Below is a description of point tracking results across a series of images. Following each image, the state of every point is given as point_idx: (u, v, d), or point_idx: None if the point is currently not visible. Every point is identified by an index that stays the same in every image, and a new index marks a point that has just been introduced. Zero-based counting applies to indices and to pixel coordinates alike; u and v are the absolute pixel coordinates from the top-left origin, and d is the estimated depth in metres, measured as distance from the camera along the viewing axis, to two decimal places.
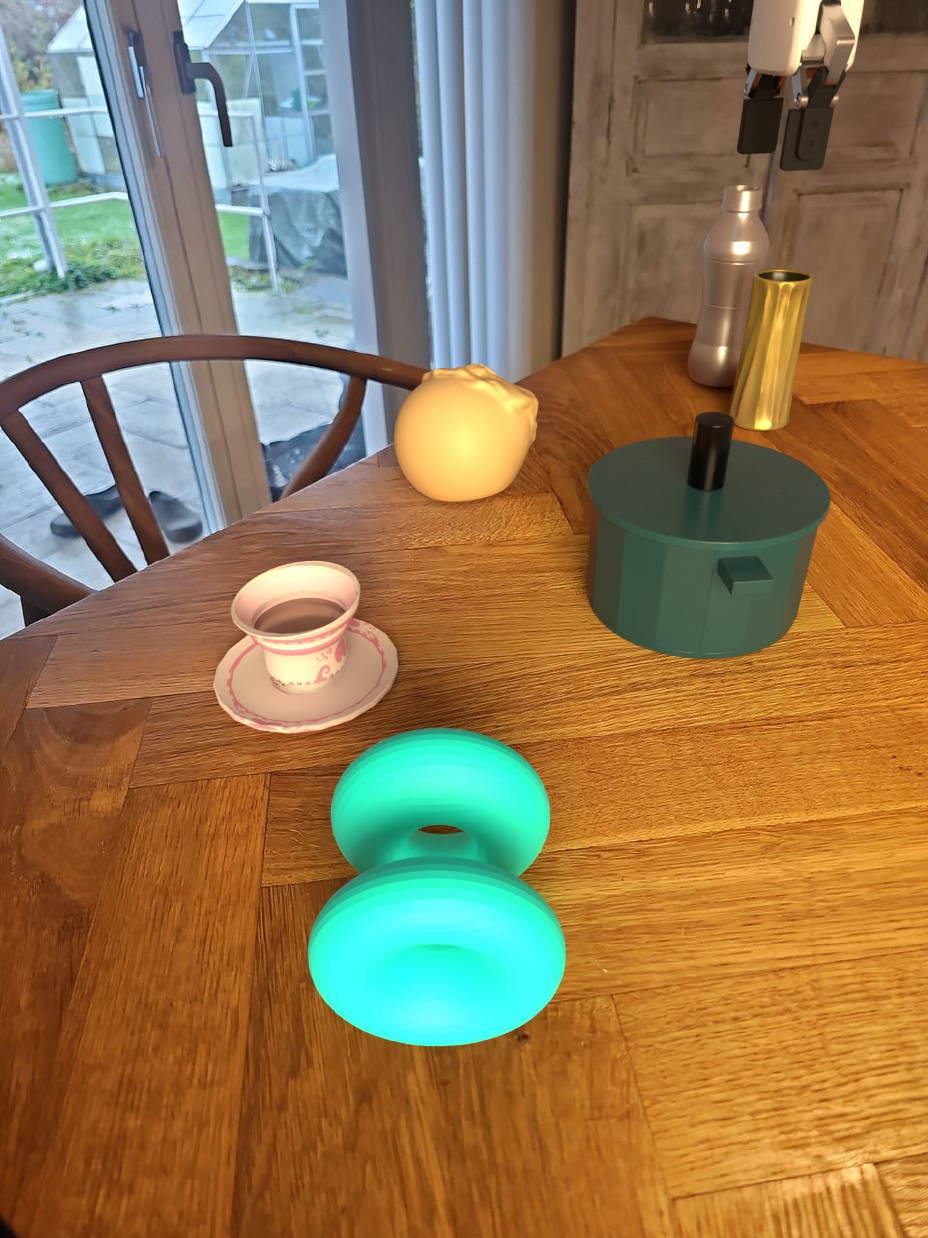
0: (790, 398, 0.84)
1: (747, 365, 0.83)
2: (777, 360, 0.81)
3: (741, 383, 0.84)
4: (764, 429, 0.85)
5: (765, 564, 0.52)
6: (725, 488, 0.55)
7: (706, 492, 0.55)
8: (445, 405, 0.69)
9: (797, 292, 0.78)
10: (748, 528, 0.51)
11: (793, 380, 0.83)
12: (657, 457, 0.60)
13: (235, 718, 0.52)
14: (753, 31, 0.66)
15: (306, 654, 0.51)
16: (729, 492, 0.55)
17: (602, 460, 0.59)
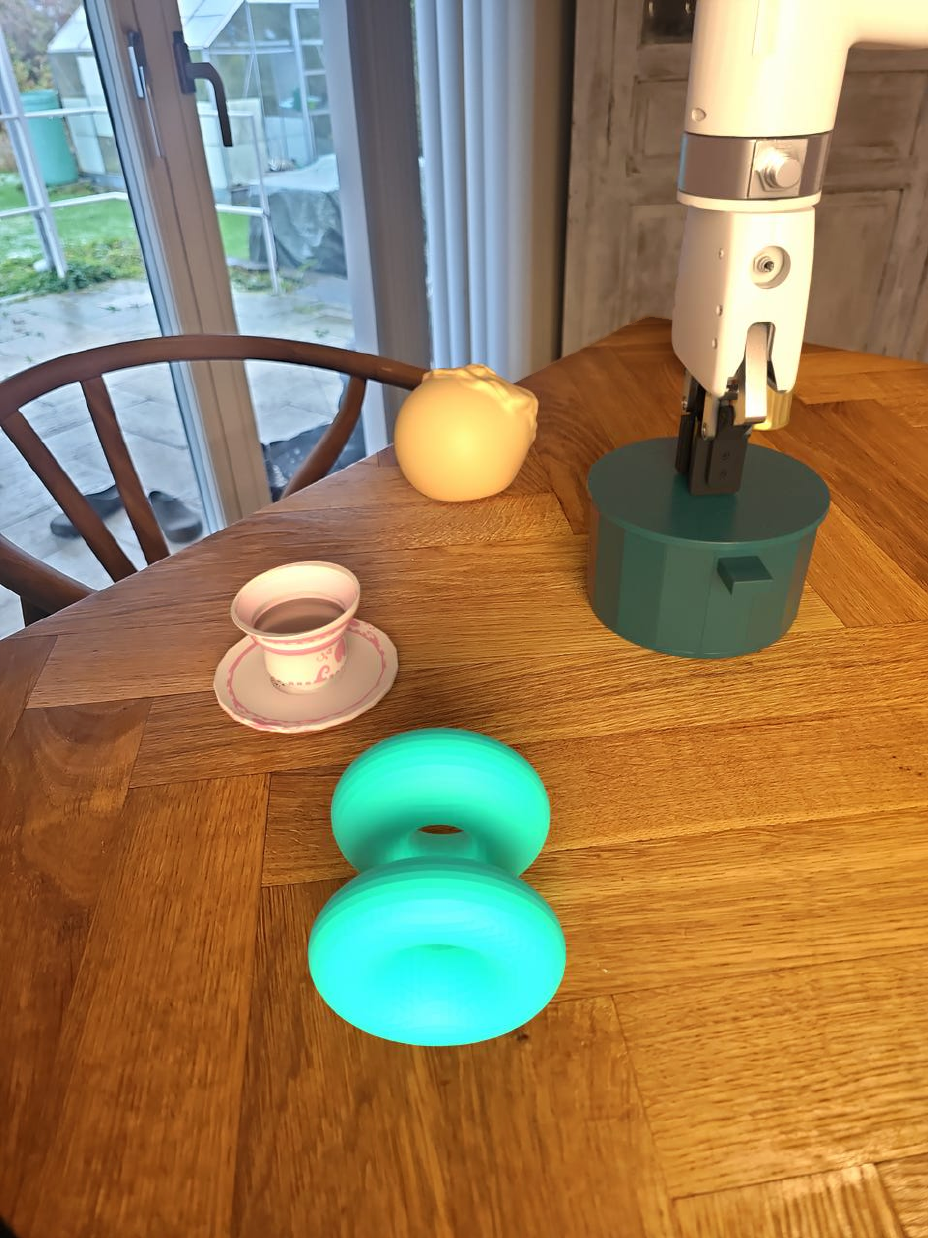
0: (790, 398, 0.84)
1: None
2: None
3: None
4: (764, 429, 0.85)
5: (765, 564, 0.52)
6: None
7: None
8: (445, 405, 0.69)
9: None
10: (748, 528, 0.51)
11: None
12: (657, 457, 0.60)
13: (235, 718, 0.52)
14: (676, 316, 0.53)
15: (306, 654, 0.51)
16: None
17: (602, 460, 0.59)
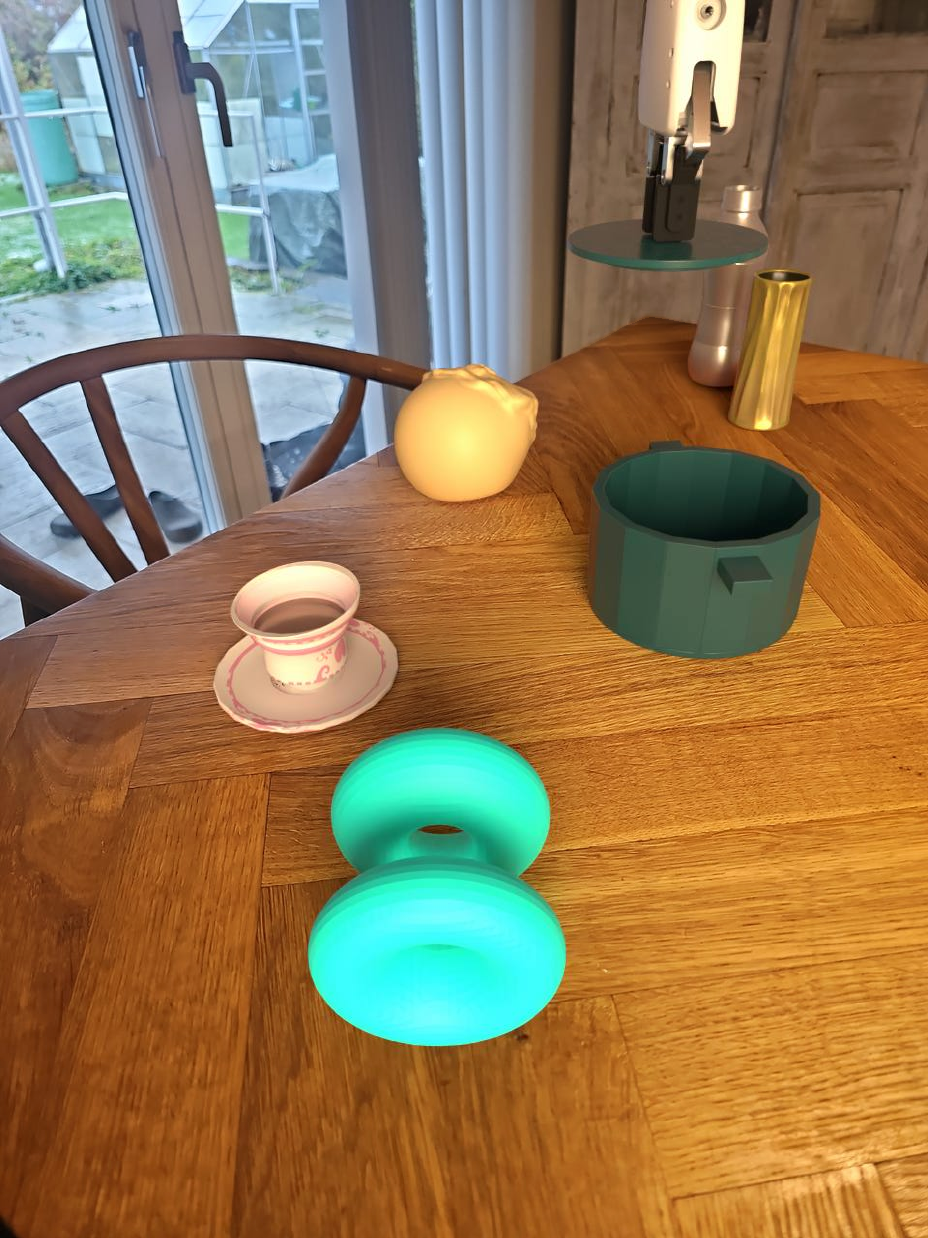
0: (790, 398, 0.84)
1: (747, 365, 0.83)
2: (777, 360, 0.81)
3: (741, 383, 0.84)
4: (764, 429, 0.85)
5: (765, 564, 0.52)
6: None
7: None
8: (445, 405, 0.69)
9: (797, 292, 0.78)
10: (698, 254, 0.62)
11: (793, 380, 0.83)
12: (627, 227, 0.71)
13: (235, 718, 0.52)
14: (640, 88, 0.64)
15: (306, 654, 0.51)
16: None
17: (581, 229, 0.71)
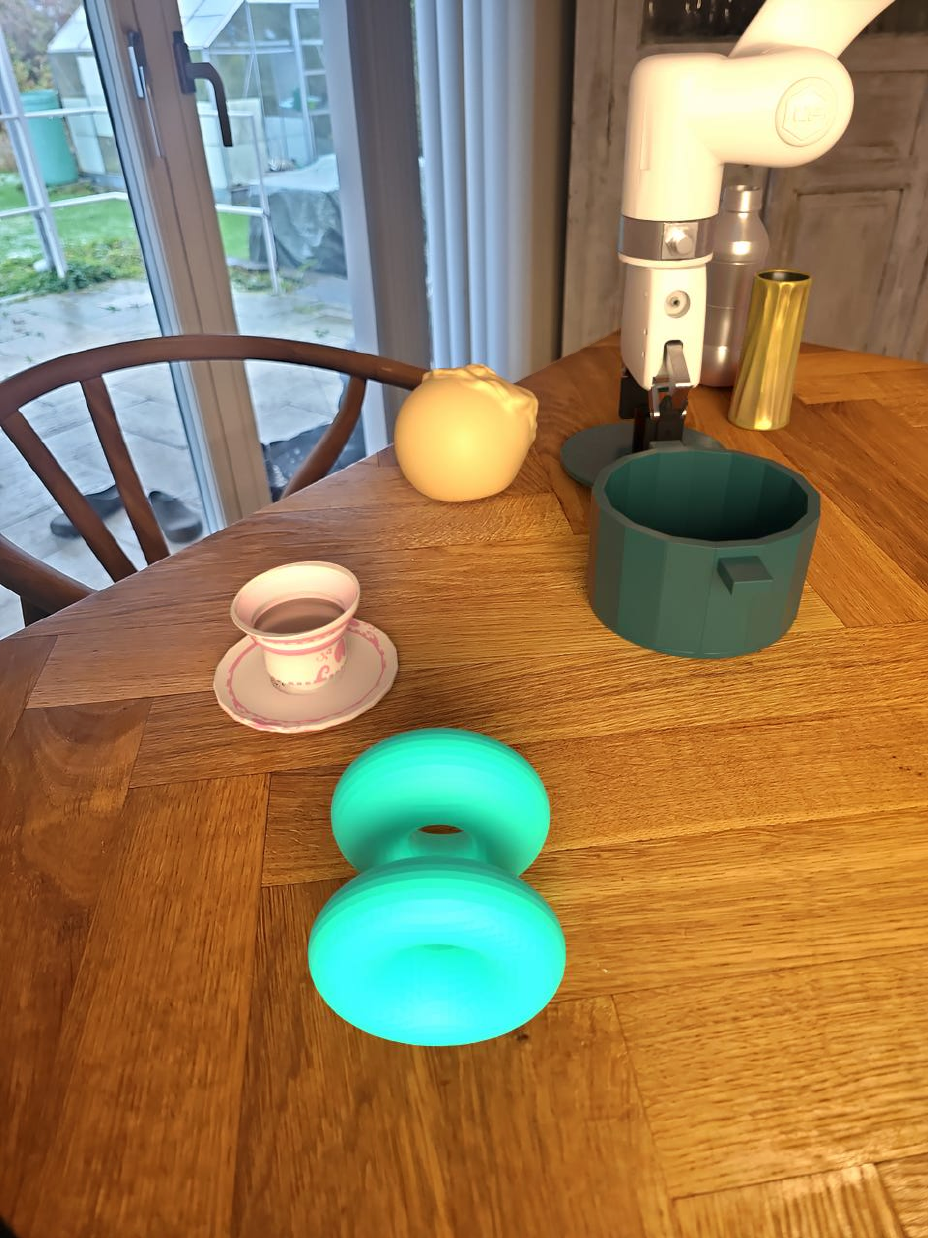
0: (790, 398, 0.84)
1: (747, 365, 0.83)
2: (777, 360, 0.81)
3: (741, 383, 0.84)
4: (764, 429, 0.85)
5: (765, 564, 0.52)
6: None
7: None
8: (445, 405, 0.69)
9: (797, 292, 0.78)
10: None
11: (793, 380, 0.83)
12: (612, 436, 0.82)
13: (235, 718, 0.52)
14: (622, 334, 0.75)
15: (306, 654, 0.51)
16: None
17: (572, 438, 0.82)
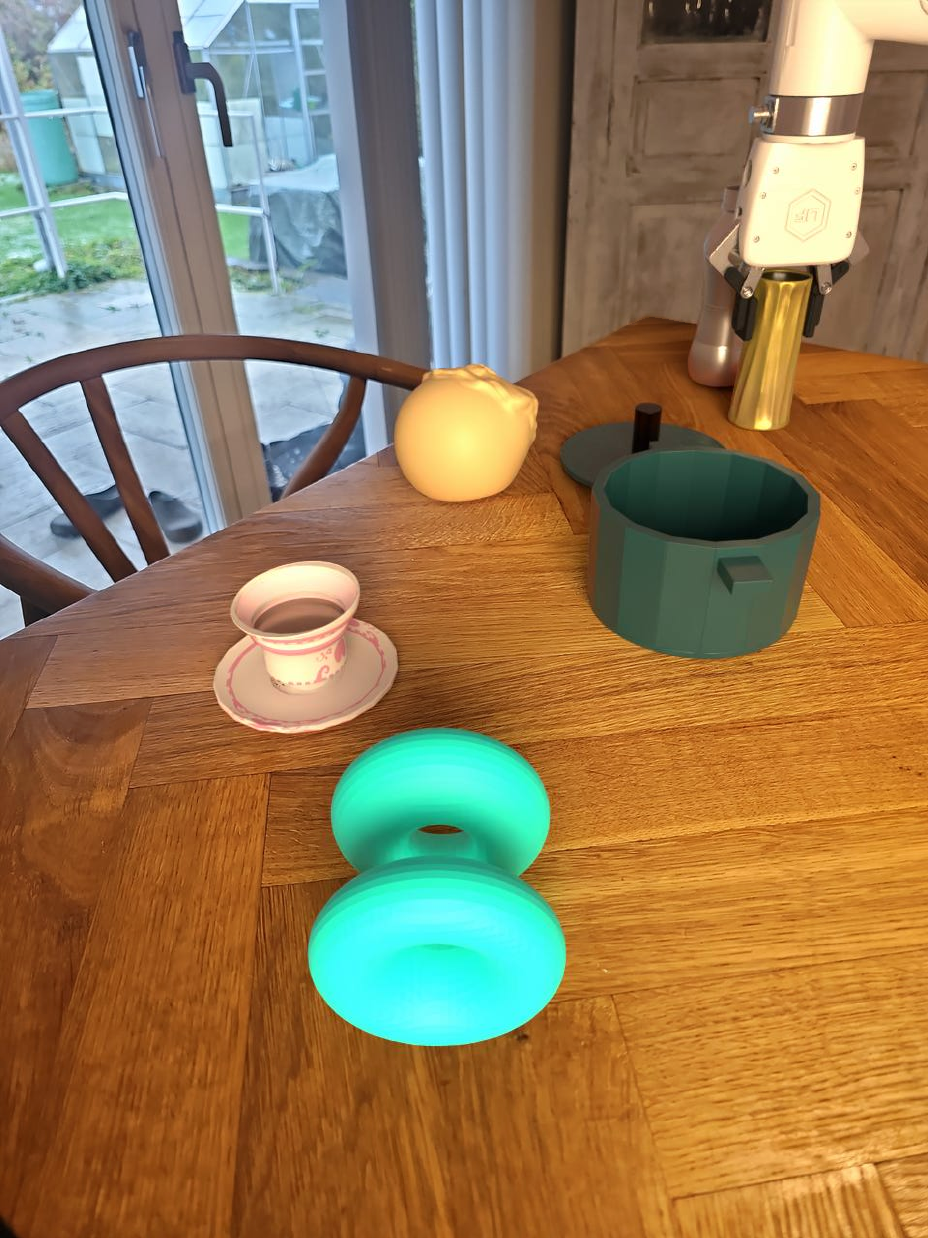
0: (790, 398, 0.84)
1: (747, 365, 0.83)
2: (778, 360, 0.81)
3: (741, 383, 0.84)
4: (764, 429, 0.85)
5: (765, 564, 0.52)
6: None
7: None
8: (445, 405, 0.69)
9: (797, 292, 0.78)
10: None
11: (794, 380, 0.83)
12: (612, 436, 0.82)
13: (235, 718, 0.52)
14: None
15: (306, 654, 0.51)
16: None
17: (572, 438, 0.82)
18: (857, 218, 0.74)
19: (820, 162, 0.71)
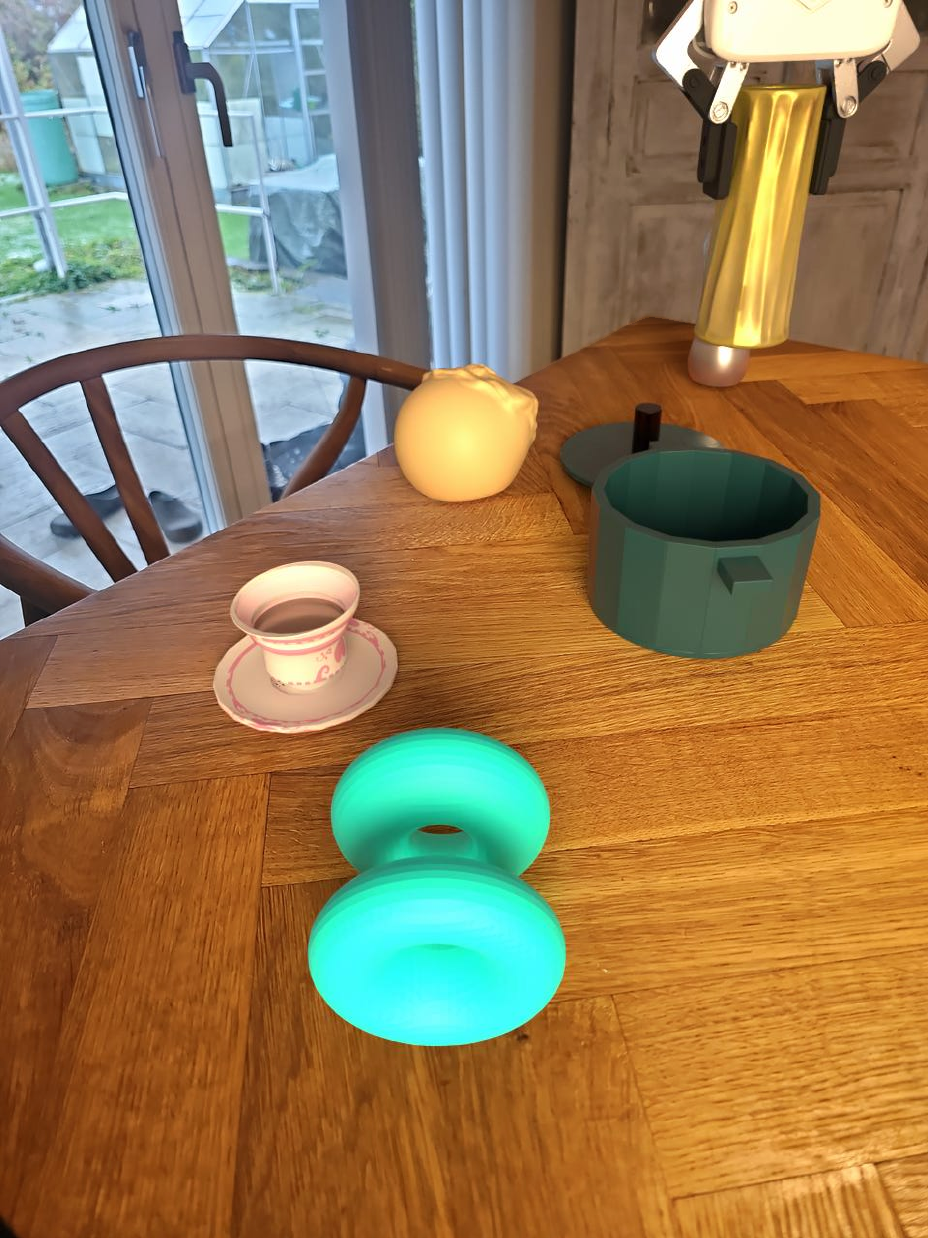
0: (790, 297, 0.54)
1: (722, 242, 0.52)
2: (769, 230, 0.51)
3: (713, 273, 0.54)
4: (749, 346, 0.54)
5: (765, 564, 0.52)
6: None
7: None
8: (445, 405, 0.69)
9: (802, 110, 0.48)
10: None
11: (795, 267, 0.53)
12: (612, 436, 0.82)
13: (235, 718, 0.52)
14: None
15: (306, 654, 0.51)
16: None
17: (572, 438, 0.82)
18: None
19: None
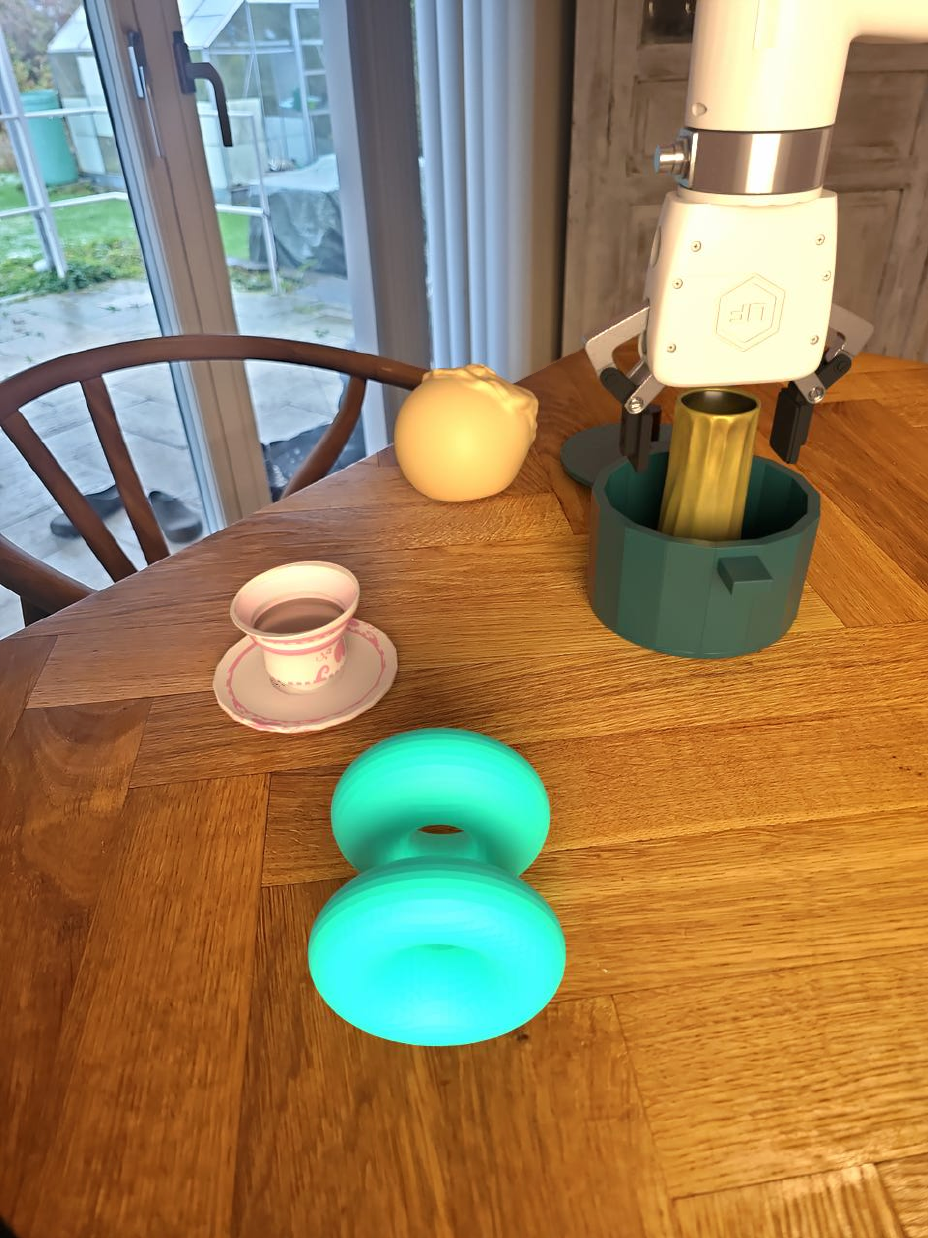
0: None
1: (670, 524, 0.57)
2: (712, 522, 0.55)
3: None
4: None
5: (765, 564, 0.52)
6: None
7: None
8: (445, 405, 0.69)
9: (738, 429, 0.52)
10: None
11: None
12: (612, 436, 0.82)
13: (235, 718, 0.52)
14: None
15: (305, 654, 0.51)
16: None
17: (572, 438, 0.82)
18: (827, 316, 0.48)
19: (766, 234, 0.45)
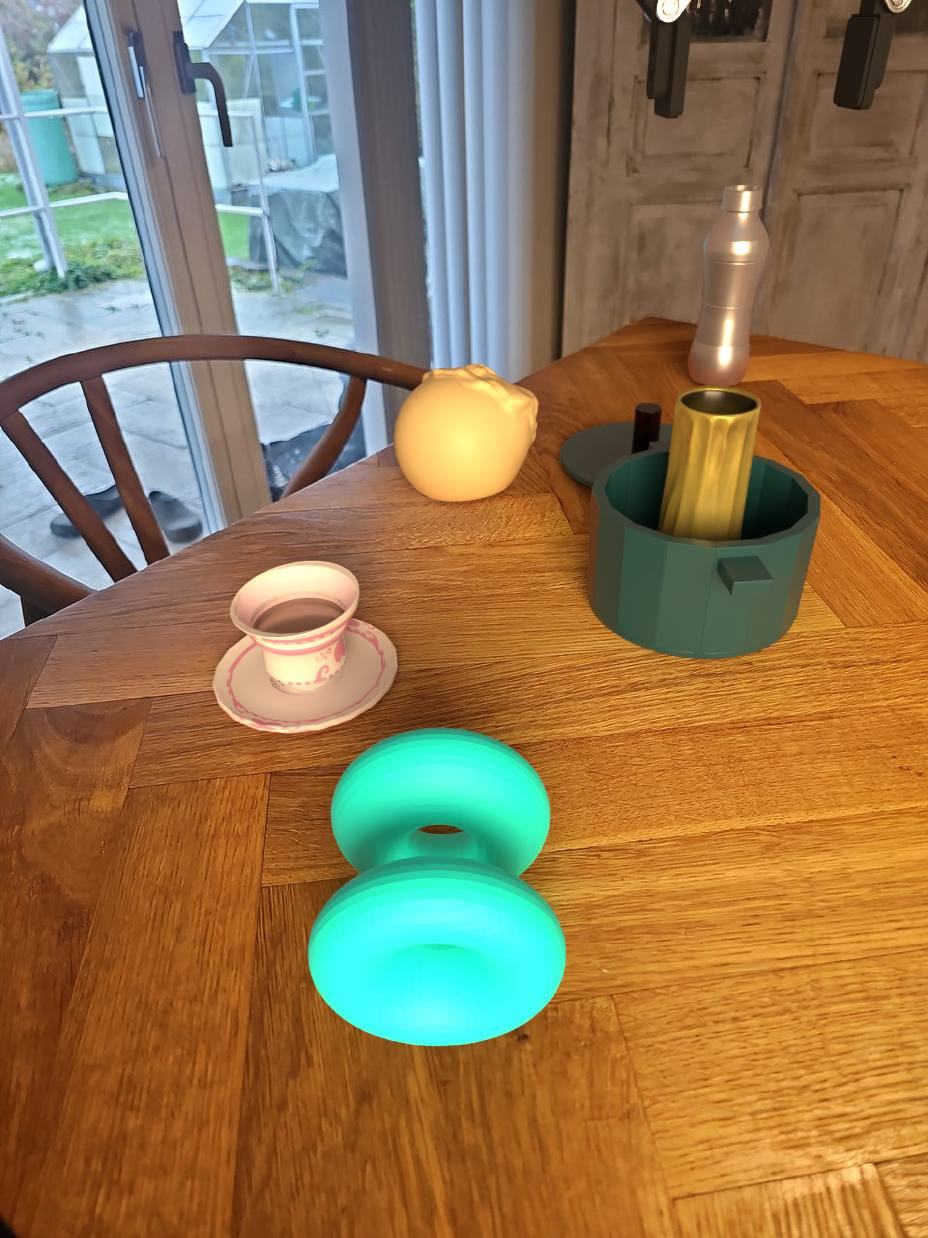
0: None
1: (670, 524, 0.57)
2: (712, 522, 0.55)
3: None
4: None
5: (765, 564, 0.52)
6: None
7: None
8: (445, 405, 0.69)
9: (738, 429, 0.52)
10: None
11: None
12: (612, 436, 0.82)
13: (235, 718, 0.52)
14: None
15: (305, 654, 0.51)
16: None
17: (572, 438, 0.82)
18: None
19: None
